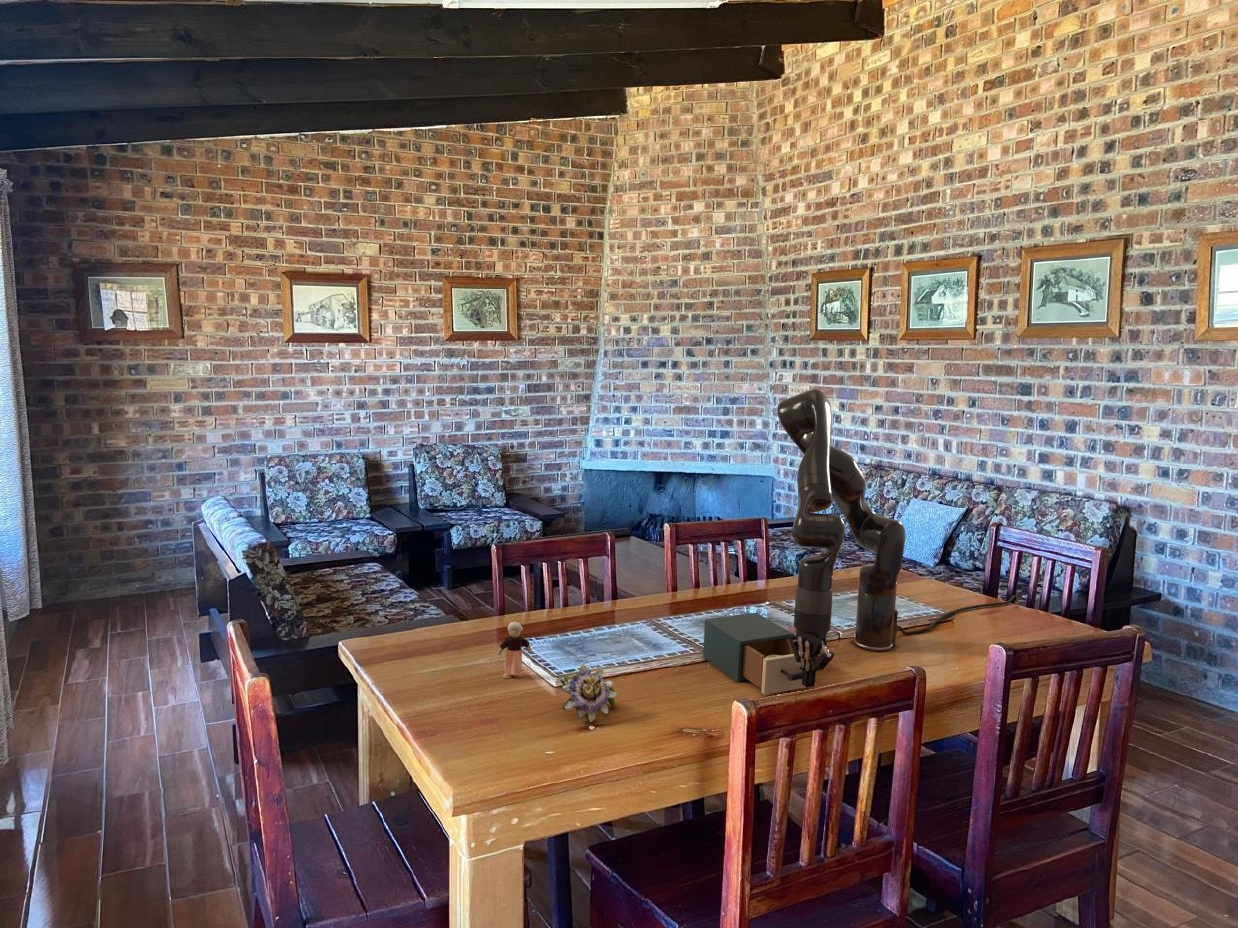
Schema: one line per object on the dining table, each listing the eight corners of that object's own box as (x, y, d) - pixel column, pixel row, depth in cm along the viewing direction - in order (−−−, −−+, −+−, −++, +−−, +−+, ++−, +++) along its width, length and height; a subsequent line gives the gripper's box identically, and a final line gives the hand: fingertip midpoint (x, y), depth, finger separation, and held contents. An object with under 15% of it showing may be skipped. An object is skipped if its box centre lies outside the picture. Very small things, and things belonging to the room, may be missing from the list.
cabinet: (791, 672, 203) (793, 633, 202) (737, 681, 197) (739, 641, 195) (754, 649, 217) (756, 612, 215) (702, 657, 211) (704, 619, 209)
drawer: (827, 693, 190) (829, 659, 189) (775, 702, 185) (778, 667, 183) (777, 662, 207) (779, 630, 206) (728, 669, 201) (730, 637, 200)
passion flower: (590, 745, 177) (564, 710, 170) (566, 715, 185) (541, 680, 179) (633, 709, 179) (610, 673, 173) (608, 681, 188) (585, 646, 181)
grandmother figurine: (501, 681, 193) (501, 626, 191) (495, 675, 197) (496, 621, 195) (533, 676, 197) (534, 622, 195) (527, 669, 200) (528, 616, 198)
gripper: (848, 615, 178) (842, 695, 181) (808, 596, 190) (803, 671, 193) (818, 619, 175) (812, 700, 178) (779, 599, 187) (775, 676, 190)
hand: (807, 685), depth 185 cm, fingers closed
